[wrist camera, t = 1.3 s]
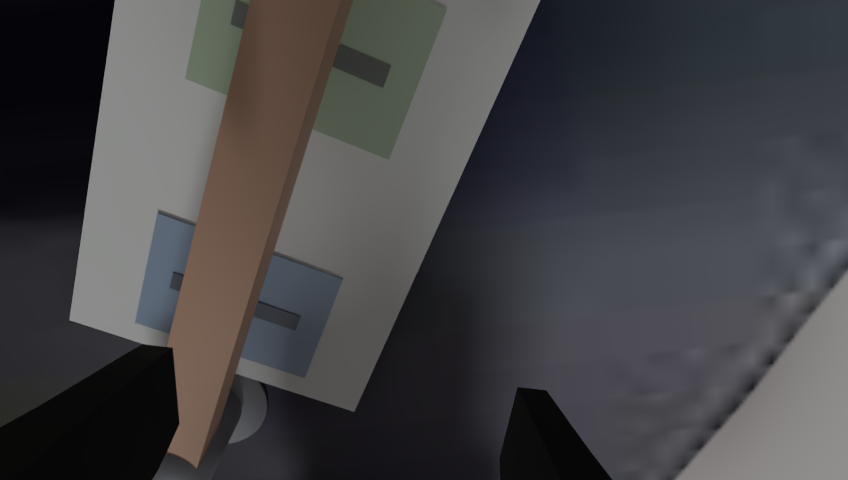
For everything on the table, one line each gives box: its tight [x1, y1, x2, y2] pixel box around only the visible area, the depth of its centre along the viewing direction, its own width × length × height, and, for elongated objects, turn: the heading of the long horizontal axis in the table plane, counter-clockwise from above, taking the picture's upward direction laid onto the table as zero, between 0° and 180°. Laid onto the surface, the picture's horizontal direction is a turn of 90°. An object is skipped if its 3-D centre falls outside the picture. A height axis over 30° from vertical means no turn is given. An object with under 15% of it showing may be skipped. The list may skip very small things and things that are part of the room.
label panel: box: [70, 0, 540, 443], centre depth 19 cm, size 12×24×1 cm, turn 158°
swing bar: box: [152, 0, 353, 480], centre depth 17 cm, size 22×3×4 cm, turn 158°
